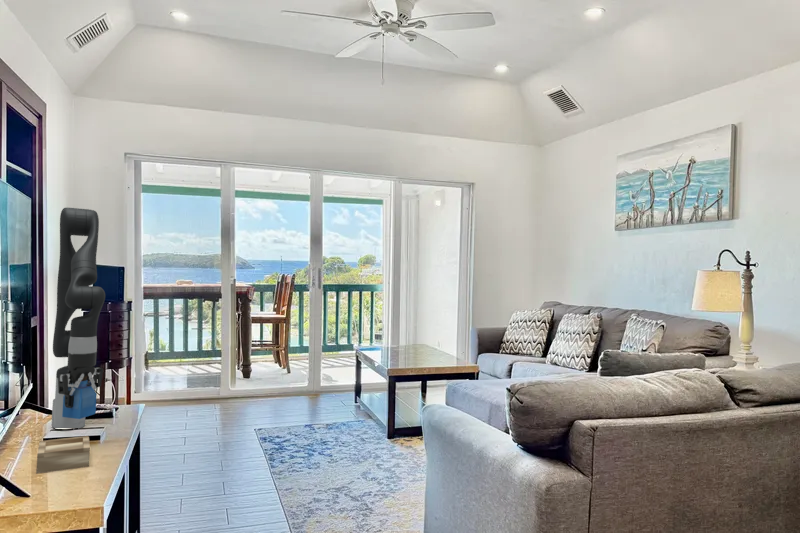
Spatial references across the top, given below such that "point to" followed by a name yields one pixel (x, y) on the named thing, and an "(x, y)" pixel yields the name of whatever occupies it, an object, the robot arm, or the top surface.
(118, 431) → the top surface
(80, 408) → the perfume bottle
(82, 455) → the square tray
